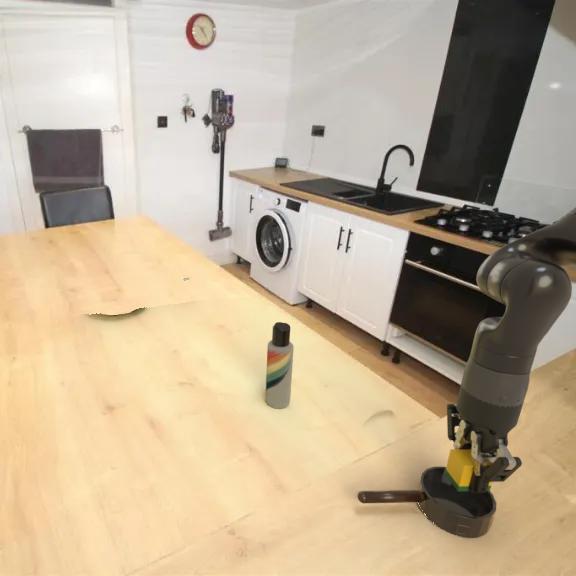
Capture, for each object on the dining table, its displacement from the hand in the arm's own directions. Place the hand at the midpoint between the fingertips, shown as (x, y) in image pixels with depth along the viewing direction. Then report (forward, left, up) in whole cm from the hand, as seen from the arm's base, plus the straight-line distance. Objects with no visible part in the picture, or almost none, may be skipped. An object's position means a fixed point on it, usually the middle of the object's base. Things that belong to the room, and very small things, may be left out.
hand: (467, 480), depth 65 cm
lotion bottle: (+24, -30, -6) cm, 39 cm away
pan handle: (+12, 0, -4) cm, 12 cm away
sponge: (0, 0, 0) cm, 0 cm away
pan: (+1, 0, -6) cm, 6 cm away
